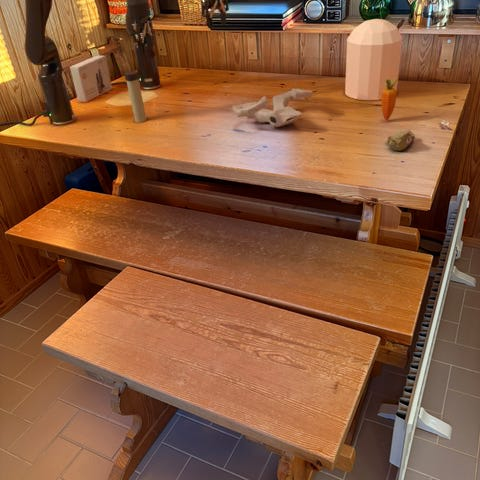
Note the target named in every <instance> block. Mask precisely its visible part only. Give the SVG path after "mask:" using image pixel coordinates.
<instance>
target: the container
mask: <svg viewBox="0 0 480 480" xmlns="http://www.w3.org/2000/svg"><path fill="white" fill-rule="evenodd" d="M402 45H403V36H402V34H401V32H400V31H399V28H398V27H397V25H395V24H393V23H392V22H390V21H389V20H385V19H383V18H373V19H367V20H364V21H363V22H362V23H359V25H357V26H355V27H354V28H353V30H352V31H351V32H350V34H349V35H348V37H347V38H346V59H345V82H344V83H345V84H344V85H345V86H344V93H345V94H344V95H346V96H347V97H348V98H351V99H353V100H354V99H355V100H360V101H381V98H382V91H383V90H384V89H386V88H387V87H386V85H387V83H386V79H390V82H391V84H393V82H394V80H395V79H397V81H396V83H395V84H394V86H393V88H394V89H395V90H396V91H397V92H398V83H399V74H400V64H401V57H402ZM389 86H390V85H389ZM391 86H392V85H391Z"/></svg>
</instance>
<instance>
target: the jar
mask: <svg viewBox="0 0 480 480" xmlns="http://www.w3.org/2000/svg"><path fill="white" fill-rule="evenodd" d="M126 82H127V84H126V85H127V91H128V95H129V99H130V103H131V108H132V114H133V117H134V121H135V122H136V123H143V122H146V121H147V115H146V110H145V109H146V108H145V105H144V100H143V95H142V91H141V87H140V82H139V80H138V79H137V80H133V81H126Z"/></svg>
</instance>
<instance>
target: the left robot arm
mask: <svg viewBox="0 0 480 480" xmlns="http://www.w3.org/2000/svg"><path fill="white" fill-rule="evenodd" d="M125 1H126V8H127V7H128V12H129V17H130V18H134V21H135V23H134V24H131V28H132V33H133V36H132V38H133V43H137V44H138V49H139V53H140V54H145V53H146V51H145V46H144V37H146V38H145V39H146V44H147V48H153V42H152V34H153V33H154V27H153V28H152V25H153V21H152V17H151V7H150V2H149V0H125ZM52 7H53V0H24V10H25V11H24V12H25V33H24V34H25V35H24V52H25V55H26V58H27V60H28V61H29V62H30V63H31V64H33V65H34V66H40V69H39V72H38V74H37V79H38V82H39V85H40V88H41V91H42V94H43V98H44V100H43V104H44V105H43V106H44V107H45V109H43V110H42V111H41V113H39V114H37V115H35V116H34V118H33V120H32V122H30V123H26V122H23V121H18V120H17V121H8V122H2V123H0V127H4V126H8V125H23V126H27V127H31V126H33V125H35V124H36V121H37V120H38V119H39V118H40V117H43V118H48V119H49V123H50V125H54V126H65V125H68V124H71V123H74V122H75V121H76V113H75V112H74V110H73V107H72V103H71V99H70V96H69V93H68V90H67V86H66V82H65V78H64V77H63V65H62V60H61V56H60V53H59V49H58V47H57V45H56V43H55V41H54V40H53V38H51V37H50V36H48V35H46V27H47V23H48V20H49V18H50V15H51V12H52ZM148 16H150V17H148ZM151 21H152V22H151Z"/></svg>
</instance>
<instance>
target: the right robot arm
mask: <svg viewBox="0 0 480 480" xmlns="http://www.w3.org/2000/svg"><path fill="white" fill-rule="evenodd" d="M200 6H201V7H200V8H201V16H202V18H205V20H206V26H207V28H208V29H214V22H213V14H214V13H215V11H216V10H218V12H219V18H220V24H221V25H226V24H227V12H229V10H230V7H229V6H230V5H229V0H200ZM148 17H151V15H150V16H148ZM124 21H125V29H126V32H127V33H128V35H129V36H131V37H133V33H132V28H131V24H134V23H135V21H134V18H130V17H129V12H128V7H127V6H126V10H125V19H124ZM151 22H152V23H153V21H152V20H151ZM152 28H153V29H154V26H153V24H152ZM154 33H155V32H153V34H152V42H153V48H147V44H146V39H145V38H146V37H144V46H145V51H146V53H145V54H140V53H139V49H138V44H137V43H136V42H134V45H133V50H134V54H135V59H136V64H137V67H136V71H137V72H138V77H139V78H138V80H139V85H140V89H142V90H145V91H151V90H152V91H153V90H157V89H159V88H161V87H162V84H161V78H160V73H159V72H160V71H159V67H158V66H159V65H158V62H157V61H158V60H157V55H156V50H155V34H154ZM111 85H112V86H115V85H127V81H118V82H111Z"/></svg>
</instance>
